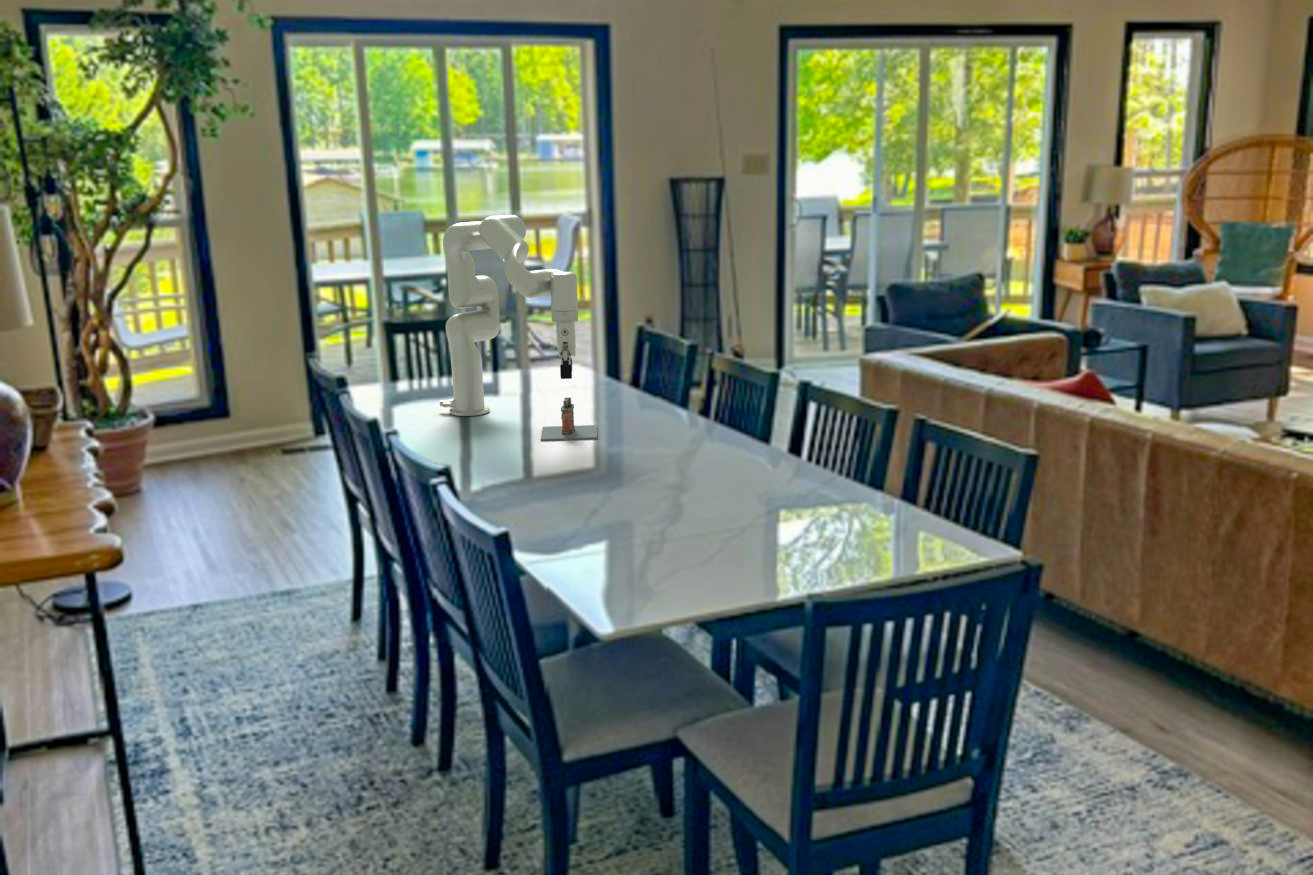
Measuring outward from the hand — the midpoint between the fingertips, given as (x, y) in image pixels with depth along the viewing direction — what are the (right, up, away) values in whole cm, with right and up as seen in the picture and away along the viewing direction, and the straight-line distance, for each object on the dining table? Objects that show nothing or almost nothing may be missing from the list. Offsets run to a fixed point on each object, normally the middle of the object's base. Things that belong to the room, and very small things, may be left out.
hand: (566, 375), depth 325 cm
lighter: (0, -16, +4) cm, 17 cm away
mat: (0, -17, +4) cm, 17 cm away
